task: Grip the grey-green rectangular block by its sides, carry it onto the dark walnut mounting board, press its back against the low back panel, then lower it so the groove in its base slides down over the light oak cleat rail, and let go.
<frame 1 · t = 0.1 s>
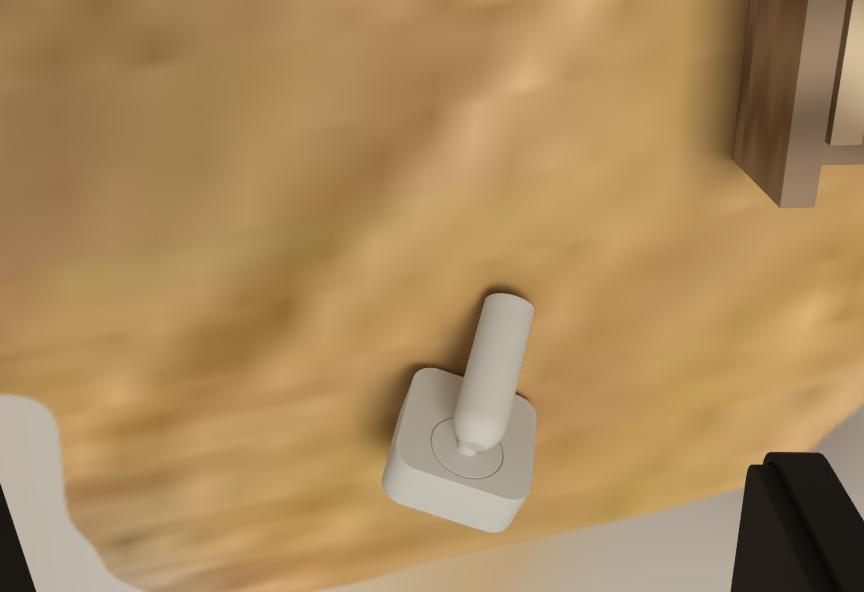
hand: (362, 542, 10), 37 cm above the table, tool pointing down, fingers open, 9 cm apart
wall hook: (482, 363, 51), on the table
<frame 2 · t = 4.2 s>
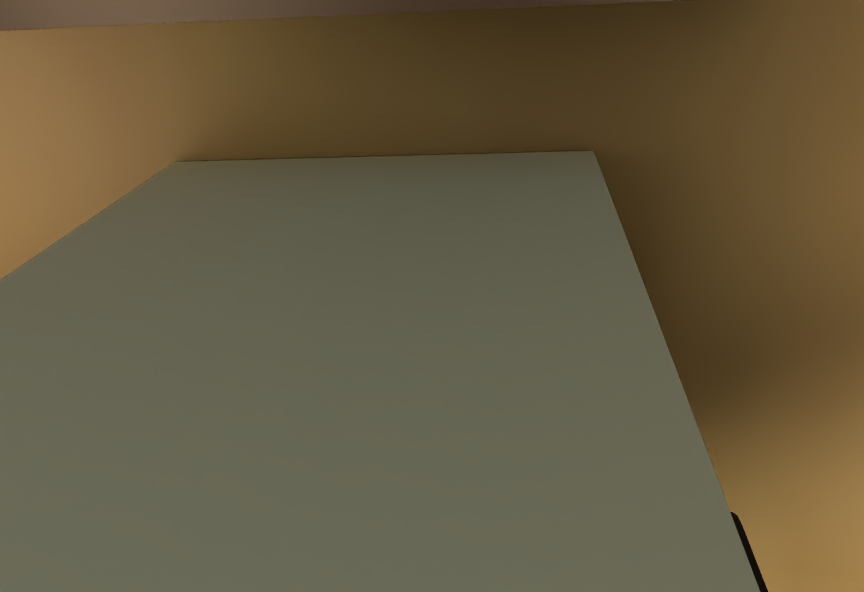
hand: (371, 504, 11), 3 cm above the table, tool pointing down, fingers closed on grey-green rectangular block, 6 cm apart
grey-green rectangular block: (397, 398, 13), on the table, touching gripper
when the fingers open (5 cm above the table, at t = 11.9 s): grey-green rectangular block stays where it is, resting on mounting board.
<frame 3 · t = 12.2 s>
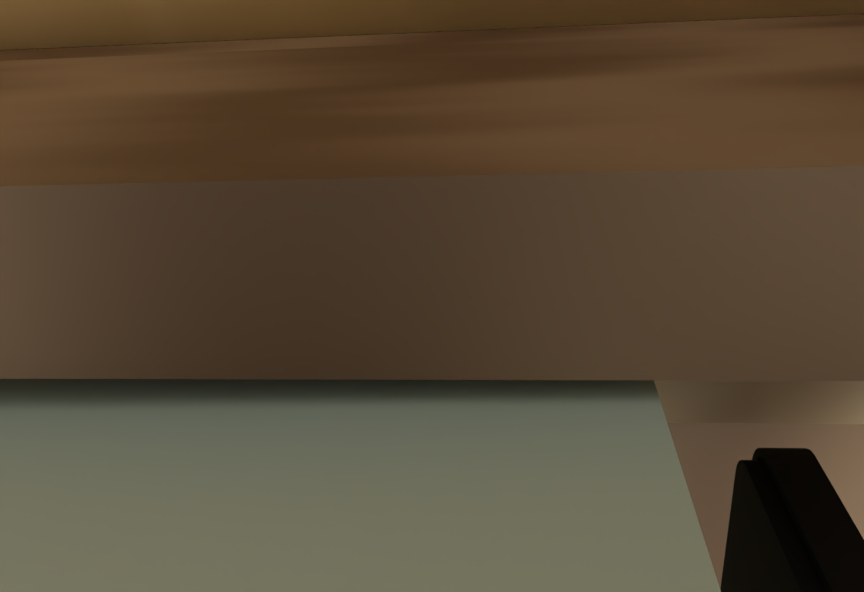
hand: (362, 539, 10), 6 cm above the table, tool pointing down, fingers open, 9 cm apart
grey-green rectangular block: (406, 387, 14), point 1 cm above the table, touching mounting board
mounting board: (418, 403, 16), on the table
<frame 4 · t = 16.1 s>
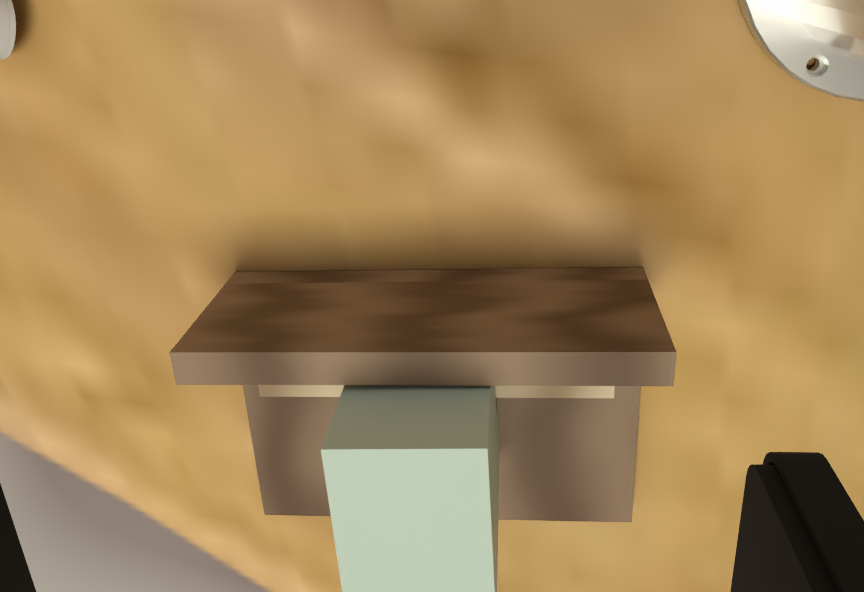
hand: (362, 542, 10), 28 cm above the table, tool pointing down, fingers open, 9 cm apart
grey-green rectangular block: (436, 387, 40), point 1 cm above the table, touching mounting board
mounting board: (440, 392, 42), on the table
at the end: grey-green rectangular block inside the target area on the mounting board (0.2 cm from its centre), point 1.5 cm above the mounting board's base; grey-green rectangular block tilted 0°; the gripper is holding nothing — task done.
